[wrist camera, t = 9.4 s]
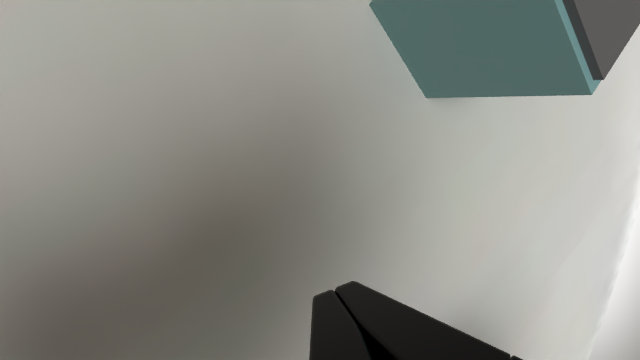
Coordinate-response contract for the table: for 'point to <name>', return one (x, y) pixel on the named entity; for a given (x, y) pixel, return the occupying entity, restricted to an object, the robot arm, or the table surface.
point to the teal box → (508, 44)
